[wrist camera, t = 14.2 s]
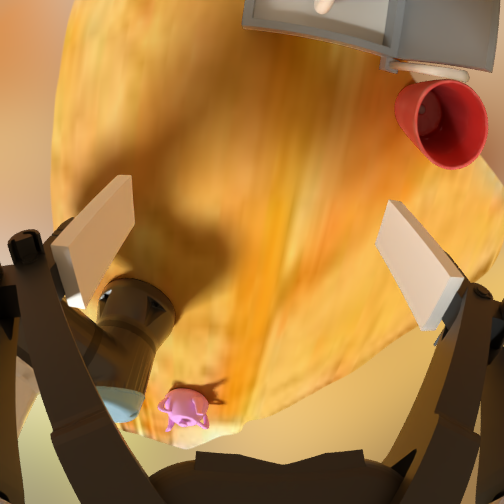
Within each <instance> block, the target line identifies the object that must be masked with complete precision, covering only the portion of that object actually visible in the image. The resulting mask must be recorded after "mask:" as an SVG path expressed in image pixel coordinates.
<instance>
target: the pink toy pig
mask: <svg viewBox="0 0 504 504" xmlns="http://www.w3.org/2000/svg"><path fill="white" fill-rule="evenodd" d="M164 404H165V407H166V409H165V408H164ZM208 405H209V404H208V401H207V400H206V398H205V397H204V396H203V395H202V394H201V393H199V392H197V391H194V390H191V389H186V388H177V389H174V390H172V391H170V392H169V393H167V395H166V396H165V398H164V399H163V400H162V401H161V402H160V403H159V405H158V409H159V410H160V411H162V412H166V413H168V415H169V423H168V427H167V429H166V432H169V431H170V430H171V429H172V427H173V426H174V423H177V424H178V425H179V426H181V427H187V426H193V425H196V424H197V425H199V426H200V427H202V428H203V429H208V428H209V421H208V418H207V415H206V412H207V409H208ZM202 418H203V420H204V424H202V423H201V422H199V421H200V420H201V419H202Z"/></svg>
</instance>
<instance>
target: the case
mask: <svg viewBox="0 0 504 504" xmlns="http://www.w3.org/2000/svg"><path fill="white" fill-rule="evenodd" d="M499 13H500V0H335V1H334V3H333V5H332V7H331V9H330V10H329V11H328V12H327V13H325V14H319V13H317V12H316V11H315V9H314V0H245V4H244V11H243V18H242V27H243V29H249V30H258V31H267V32H274V33H281V34H288V35H294V36H299V37H305V38H310V39H315V40H320V41H325V42H329V43H333V44H338V45H342V46H346V47H350V48H353V49H357V50H361V51H364V52H368V53H371V54H375V55H378V56H381V61H380V66H379V69H381V70H384V71H387V72H390V73H396V74H397V72H398V70H404V71H410V72H417V73H422V74H428V75H434V76H439V77H444V78H448V79H453V80H457V81H462V82H468V81H469V74H468V72H467V71H464V70H458V69H452V68H446V67H439V66H432V65H423V64H414V63H405V62H400V61H398V60H395V59H392V58H398V59H401V60H407V61H419V62H429V63H437V64H444V65H451V66H458V67H464V68H470V69H475V70H481V71H486V72H491V73H492V71H493V65H494V59H495V52H496V43H497V35H498V26H499Z"/></svg>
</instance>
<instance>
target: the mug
mask: <svg viewBox="0 0 504 504" xmlns="http://www.w3.org/2000/svg"><path fill="white" fill-rule="evenodd" d="M334 1H335V0H314V9H315V11H316V12H317V13H319V14H325V13H327V12H328V11H329V10H330V9H331V7H332V5H333V3H334Z"/></svg>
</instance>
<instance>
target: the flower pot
mask: <svg viewBox="0 0 504 504" xmlns="http://www.w3.org/2000/svg"><path fill="white" fill-rule="evenodd" d="M395 116H396V119H397V122H398V124H399V126H400V127H401V128H402V130H403V131H404V132H405V134H406V135H407V136H408V137H409V138H410V140H411V141H412V142H413V143H414V144H415V145H416V146H417V147H418V148H419V150H420V151H421V152H422V153H423V154H424V155H425V156H426V157H427V158H428V159H429V160H430V161H431V162H432V163H434V164H435V165H437V166H439V167H441V168H444V169H449V170H454V169H460V168H464V167H466V166H468V165H469V164H471V163H472V162H473V161H474V160H475V159H476V158H477V157H478V156H479V154H480V153H481V151H482V150H483V148H484V145H485V143H486V139H487V134H488V118H487V113H486V110H485V107H484V105H483V103H482V101H481V99H480V97H479V96H478V95H477V94H476V92H475V91H474V90H473V89H472V88H470V87H469V86H468V85H466V84H464V83H462V82H460V81H457V80H452V79H442V80H432V81H425V82H420V83H415V84H411V85H408V86H407V87H405V88H404V89H402V91H401V92H400V93H399V95H398V96H397V99H396V102H395Z"/></svg>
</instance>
